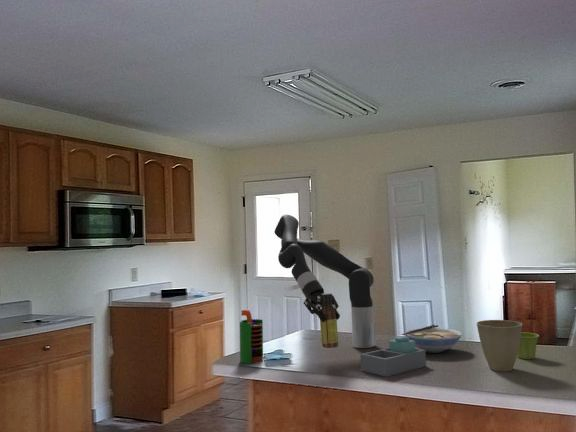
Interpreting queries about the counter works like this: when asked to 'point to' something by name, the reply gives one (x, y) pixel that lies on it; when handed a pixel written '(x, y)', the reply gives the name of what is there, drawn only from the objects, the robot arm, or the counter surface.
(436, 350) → the ramen bowl
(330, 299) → the sauce bottle
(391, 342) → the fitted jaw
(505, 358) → the plant pot
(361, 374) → the counter surface
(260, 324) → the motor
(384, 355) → the box
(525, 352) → the plant pot
